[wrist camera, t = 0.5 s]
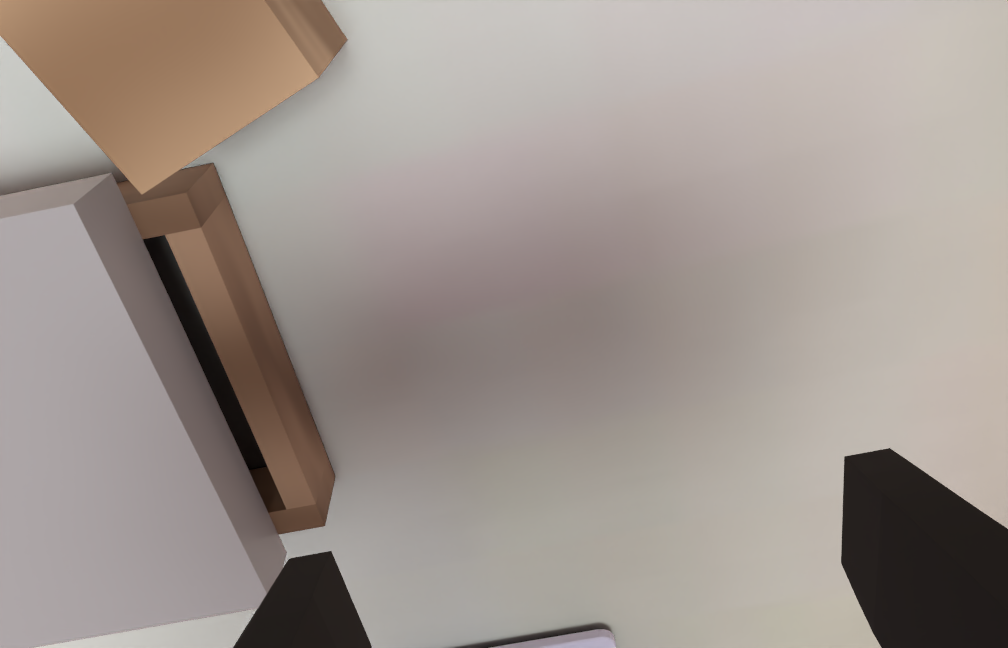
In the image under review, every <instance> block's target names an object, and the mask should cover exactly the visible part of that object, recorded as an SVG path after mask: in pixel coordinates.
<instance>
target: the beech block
mask: <svg viewBox="0 0 1008 648" xmlns="http://www.w3.org/2000/svg"><path fill="white" fill-rule="evenodd" d="M0 36H1V37H2V38H3V39H4V40H5V41H6V42H7V44H8V45H9V46H10V47H11V48H12V49H13V50H14V51H15V53H16V54H17V55H18V56H19V57H20V58H21V59H22V60H23V62H24V63H25V64H26V65H27V66H28V67H29V68H30V69H31V71H32V72H33V73H34V74H35V75H36V76H37V77H38V78H39V80H40V81H41V82H42V83H43V84H44V85H45V86H46V87H47V89H48V90H49V91H50V92H51V93H52V94H53V95H54V97H55V98H56V99H57V100H58V101H59V102H60V103H61V104H62V106H63V107H64V108H65V109H66V110H67V111H68V112H69V113H70V115H71V116H72V117H73V118H74V119H75V120H76V121H77V122H78V124H79V125H80V126H81V127H82V128H83V129H84V130H85V131H86V133H87V134H88V135H89V136H90V137H91V138H92V139H93V140H94V142H95V143H96V144H97V145H98V146H99V147H100V148H101V149H102V151H103V152H104V153H105V154H106V155H107V156H108V157H109V158H110V160H111V161H112V162H113V163H114V164H115V165H116V166H117V167H118V169H119V170H120V171H121V172H122V173H123V174H124V175H125V176H126V178H127V179H128V180H129V181H130V182H131V183H132V184H133V185H134V187H135V188H136V189H137V190H138V191H139V192H140V193H141V194H144V193H145V192H147V191H148V190H150V189H151V188H153V187H154V186H156V185H157V184H159V183H160V182H162V181H163V180H165V179H166V178H168V177H169V176H171V175H172V174H174V173H175V172H177V171H178V170H180V169H181V168H183V167H184V166H186V165H187V164H189V163H191V162H192V161H194V160H195V159H197V158H198V157H200V156H201V155H203V154H204V153H206V152H207V151H209V150H210V149H212V148H213V147H215V146H216V145H218V144H219V143H221V142H222V141H224V140H225V139H227V138H228V137H230V136H231V135H233V134H234V133H236V132H237V131H239V130H240V129H242V128H243V127H245V126H246V125H248V124H249V123H251V122H252V121H254V120H255V119H257V118H259V117H260V116H262V115H263V114H265V113H266V112H268V111H269V110H271V109H272V108H274V107H275V106H277V105H278V104H280V103H281V102H283V101H284V100H286V99H287V98H289V97H290V96H292V95H293V94H295V93H296V92H298V91H299V90H301V89H302V88H304V87H305V86H307V85H308V84H310V83H311V82H313V81H314V80H316V79H317V78H319V77H320V75H321V74H322V73H323V71H324V70H325V69H326V67H327V66H328V65H329V63H330V62H331V61H332V59H333V58H334V57H335V55H336V54H337V53H338V51H339V50H340V49H341V47H342V46H343V45H344V43H345V42H346V41H347V38H346V37H345V35H344V34H343V32H342V31H341V29H340V28H339V26H338V25H337V23H336V22H335V20H334V19H333V17H332V16H331V14H330V13H329V11H328V10H327V8H326V7H325V5H324V4H323V2H322V1H321V0H0Z"/></svg>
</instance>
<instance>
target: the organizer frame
mask: <svg viewBox="0 0 1008 648" xmlns="http://www.w3.org/2000/svg"><path fill="white" fill-rule="evenodd" d="M117 185H118V187H119V189H120V192H121V194H122V196H123V198H124V200H125V202H126V205H127V207H128V209H129V211H130V213H131V215H132V218H133V220H134V222H135V224H136V226H137V228H138V231H139V233H140V235H141V237H142V239H147V238H152V237H157V236H162V235H165V236H166V238H167V241H168V243H169V245H170V247H171V250H172V252H173V254H174V256H175V259H176V261H177V263H178V265H179V268H180V270H181V272H182V274H183V277H184V279H185V281H186V283H187V286H188V288H189V290H190V293H191V295H192V297H193V299H194V302H195V304H196V306H197V308H198V311H199V313H200V315H201V317H202V320H203V322H204V324H205V326H206V329H207V331H208V333H209V335H210V338H211V340H212V342H213V344H214V347H215V349H216V351H217V354H218V356H219V358H220V360H221V363H222V365H223V367H224V369H225V372H226V374H227V376H228V378H229V381H230V383H231V385H232V387H233V390H234V392H235V394H236V396H237V399H238V401H239V403H240V405H241V408H242V410H243V412H244V415H245V417H246V419H247V421H248V424H249V426H250V428H251V430H252V433H253V435H254V437H255V439H256V442H257V444H258V446H259V448H260V451H261V453H262V455H263V457H264V460H265V462H266V464H267V466H268V467H263V468H258V469H252V470H249V472H250V474H251V476H252V478H253V481H254V483H255V485H256V487H257V489H258V491H259V494H260V496H261V498H262V500H263V502H264V505H265V507H266V509H267V511H268V513H269V515H270V518H271V520H272V522H273V524H274V526H275V528H276V531H277V533H278V534H283V533H289V532H294V531H300V530H306V529H311V528H317V527H322V526H325V523H326V519H327V514H328V509H329V504H330V500H331V495H332V490H333V485H334V481H335V475H334V472H333V469H332V467H331V464H330V462H329V459H328V457H327V454H326V451H325V449H324V446H323V444H322V441H321V439H320V436H319V433H318V431H317V428H316V426H315V423H314V421H313V418H312V415H311V413H310V410H309V408H308V405H307V403H306V400H305V397H304V395H303V392H302V390H301V387H300V385H299V382H298V379H297V377H296V374H295V372H294V369H293V367H292V364H291V361H290V359H289V356H288V354H287V351H286V349H285V346H284V343H283V341H282V338H281V336H280V333H279V331H278V328H277V325H276V323H275V320H274V318H273V315H272V313H271V310H270V307H269V305H268V302H267V300H266V297H265V295H264V292H263V289H262V287H261V284H260V282H259V279H258V277H257V274H256V271H255V269H254V266H253V264H252V261H251V259H250V256H249V253H248V251H247V248H246V246H245V243H244V241H243V238H242V235H241V233H240V230H239V228H238V225H237V223H236V220H235V217H234V215H233V212H232V210H231V207H230V205H229V202H228V199H227V197H226V194H225V192H224V189H223V187H222V184H221V181H220V179H219V176H218V174H217V171H216V169H215V166H214V163H211V164H206V165H201V166H196V167H192V168H187V169H182V170H178V171H177V172H175V173H174V174H172V175H171V176H169V177H168V178H166V179H165V180H163V181H162V182H160V183H159V184H157V185H156V186H154V187H153V188H151V189H150V190H148V191H147V192H145V193H144V194H141V193H140V192H139V191H138V190H137V189H136V188H135V187H134V185H133V184H132V183H131V182H130V181H129V180H128V181H123V182H118V183H117Z"/></svg>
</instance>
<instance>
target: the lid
mask: <svg viewBox="0 0 1008 648" xmlns="http://www.w3.org/2000/svg"><path fill="white" fill-rule="evenodd" d="M286 553H287V552H286V550H285V548H284V546H283V544H282V541H281V539H280V537H279V535H278V533H277V531H276V528H275V526H274V524H273V522H272V520H271V518H270V515H269V513H268V511H267V509H266V507H265V505H264V502H263V500H262V498H261V496H260V494H259V491H258V489H257V487H256V485H255V483H254V481H253V478H252V476H251V474H250V472H249V470H248V468H247V465H246V463H245V461H244V459H243V457H242V455H241V452H240V450H239V448H238V446H237V444H236V441H235V439H234V437H233V435H232V433H231V431H230V428H229V426H228V424H227V422H226V420H225V418H224V415H223V413H222V411H221V409H220V407H219V405H218V402H217V400H216V398H215V396H214V394H213V392H212V389H211V387H210V385H209V383H208V381H207V378H206V376H205V374H204V372H203V370H202V368H201V365H200V363H199V361H198V359H197V357H196V355H195V352H194V350H193V348H192V346H191V344H190V342H189V339H188V337H187V335H186V333H185V331H184V328H183V326H182V324H181V322H180V320H179V318H178V315H177V313H176V311H175V309H174V307H173V305H172V302H171V300H170V298H169V296H168V294H167V292H166V289H165V287H164V285H163V283H162V281H161V278H160V276H159V274H158V272H157V270H156V268H155V265H154V263H153V261H152V259H151V257H150V255H149V252H148V250H147V248H146V246H145V244H144V242H143V239H142V237H141V235H140V233H139V231H138V228H137V226H136V224H135V222H134V220H133V218H132V215H131V213H130V211H129V209H128V207H127V205H126V202H125V200H124V198H123V196H122V194H121V192H120V189H119V187H118V185H117V183H116V181H115V178H114V176H113V174H112V173H109V174H104V175H99V176H94V177H89V178H84V179H79V180H74V181H70V182H65V183H60V184H55V185H50V186H45V187H40V188H35V189H30V190H25V191H21V192H16V193H11V194H6V195H1V196H0V648H34V647H40V646H45V645H51V644H57V643H63V642H68V641H74V640H80V639H85V638H91V637H97V636H103V635H108V634H114V633H120V632H125V631H131V630H137V629H143V628H148V627H154V626H160V625H166V624H171V623H177V622H183V621H188V620H194V619H200V618H206V617H211V616H217V615H223V614H228V613H234V612H240V611H246V610H251V609H257V608H258V607H259V606H260V604H261V602H262V601H263V599H264V597H265V596H266V594H267V593H268V591H269V589H270V588H271V586H272V585H273V583H274V581H275V580H276V578H277V577H278V575H279V574H280V572H281V570H282V568H283V565H284V561H285V557H286Z"/></svg>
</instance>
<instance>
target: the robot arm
mask: <svg viewBox="0 0 1008 648" xmlns="http://www.w3.org/2000/svg"><path fill="white" fill-rule="evenodd" d="M841 563H842V566H843V568H844V570H845V572H846V575H847V577H848V579H849V582H850V584H851V586H852V588H853V591H854V593H855V595H856V597H857V600H858V602H859V604H860V606H861V608H862V610H863V612H864V615H865V617H866V619H867V621H868V623H869V625H870V627H871V629H872V632H873V634H874V635H875V637H876V639H877V640H878V642H879V644H880V646H881V647H882V648H1008V529H1007V528H1005V527H1004V526H1002V525H1001V524H999V523H998V522H996V521H995V520H993V519H992V518H990V517H989V516H987V515H986V514H985V513H983V512H982V511H980V510H979V509H977V508H976V507H974V506H973V505H971V504H970V503H968V502H967V501H966V500H964V499H963V498H961V497H960V496H958V495H957V494H955V493H954V492H952V491H951V490H950V489H948V488H947V487H945V486H944V485H942V484H941V483H939V482H938V481H937V480H935V479H934V478H932V477H931V476H929V475H928V474H926V473H925V472H924V471H922V470H921V469H919V468H918V467H916V466H915V465H913V464H912V463H911V462H909V461H908V460H906V459H905V458H903V457H902V456H900V455H899V454H897V453H896V452H894V451H893V450H891V449H890V448H889V449H883V450H878V451H873V452H867V453H862V454H856V455H851V456H845V459H844V491H843V524H842V556H841ZM233 648H372V646H371V644H370V641H369V639H368V637H367V634H366V632H365V630H364V627H363V625H362V623H361V620H360V618H359V615H358V613H357V611H356V608H355V606H354V604H353V601H352V599H351V597H350V594H349V592H348V590H347V587H346V585H345V582H344V580H343V578H342V575H341V573H340V571H339V568H338V566H337V564H336V561H335V559H334V557H333V554H332V552H331V551H329V552H323V553H318V554H313V555H307V556H302V557H296V558H291V559H289V560H288V562H287V563H286V564H285V566H284V567H283V569H282V570H281V572H280V574H279V575H278V577H277V578H276V580H275V581H274V583H273V585H272V586H271V588H270V589H269V591H268V593H267V594H266V596H265V597H264V599H263V601H262V602H261V604H260V606H259V607H258V609H257V610H256V612H255V614H254V615H253V617H252V618H251V620H250V622H249V623H248V625H247V626H246V628H245V630H244V631H243V633H242V634H241V636H240V638H239V639H238V641H237V642H236V644H235V645H234V647H233ZM490 648H616V643H615V638H614V635H613V633H612V632H610V631H609V630H605V629H596V630H590V631H584V632H578V633H573V634H567V635H561V636H555V637H549V638H543V639H537V640H531V641H525V642H520V643H514V644H508V645H502V646H496V647H490Z"/></svg>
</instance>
